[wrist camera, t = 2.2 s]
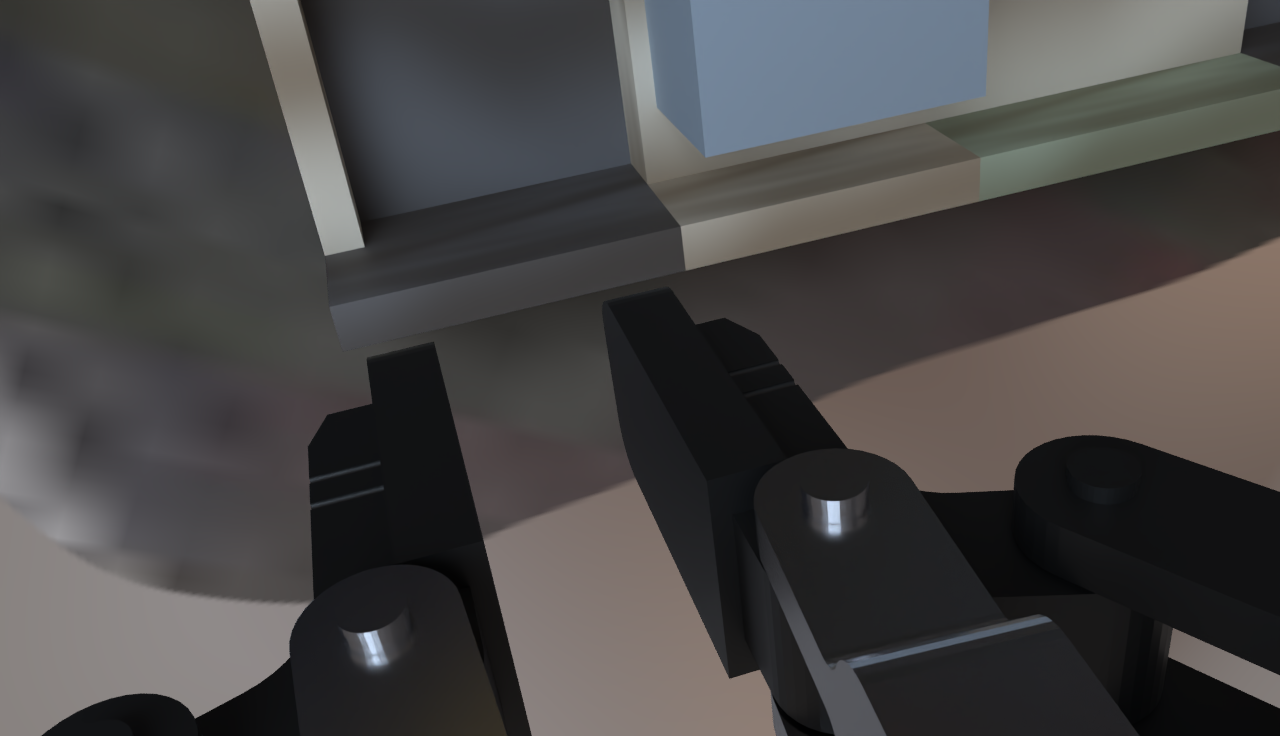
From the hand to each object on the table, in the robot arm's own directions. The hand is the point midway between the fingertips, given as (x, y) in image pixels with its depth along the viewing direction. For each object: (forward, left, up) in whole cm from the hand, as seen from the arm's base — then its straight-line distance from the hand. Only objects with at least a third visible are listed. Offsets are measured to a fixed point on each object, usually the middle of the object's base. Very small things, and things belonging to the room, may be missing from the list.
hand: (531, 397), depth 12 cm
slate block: (0, +10, -17) cm, 20 cm away
